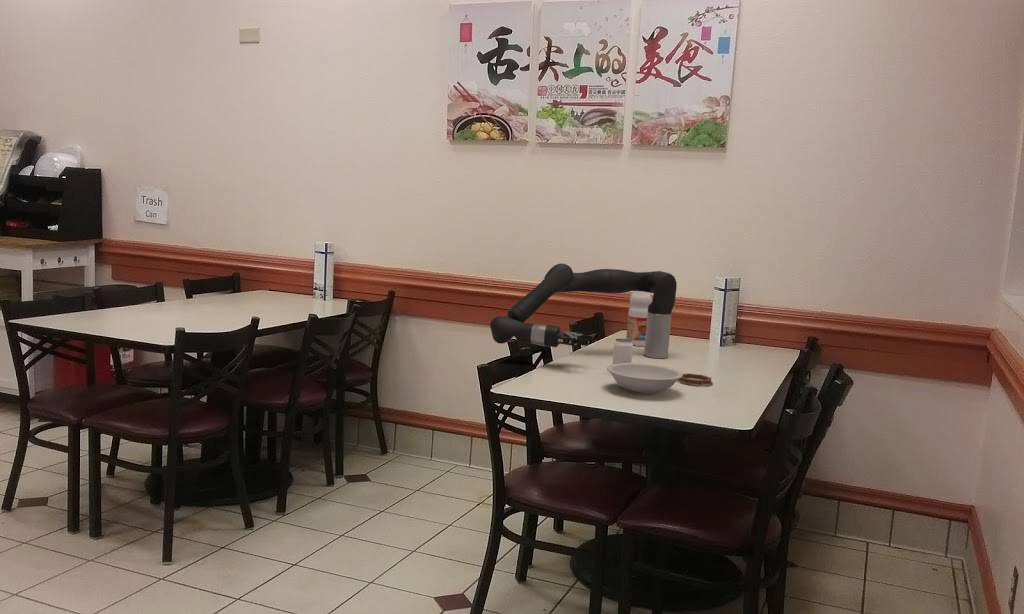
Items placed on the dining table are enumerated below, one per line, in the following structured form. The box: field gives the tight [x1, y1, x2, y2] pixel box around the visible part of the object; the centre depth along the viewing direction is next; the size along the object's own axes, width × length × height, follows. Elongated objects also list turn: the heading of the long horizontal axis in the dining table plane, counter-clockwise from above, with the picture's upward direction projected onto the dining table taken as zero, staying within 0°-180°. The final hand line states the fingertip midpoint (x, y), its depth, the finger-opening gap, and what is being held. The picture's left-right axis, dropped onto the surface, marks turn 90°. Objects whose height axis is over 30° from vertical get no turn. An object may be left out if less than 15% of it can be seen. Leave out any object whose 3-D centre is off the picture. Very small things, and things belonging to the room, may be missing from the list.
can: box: [612, 338, 634, 364], centre depth 290 cm, size 6×6×12 cm
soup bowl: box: [606, 362, 684, 394], centre depth 267 cm, size 24×24×7 cm
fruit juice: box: [625, 291, 653, 347], centre depth 351 cm, size 9×9×28 cm
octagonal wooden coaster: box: [676, 373, 714, 387], centre depth 285 cm, size 12×12×2 cm
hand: (590, 340), depth 293 cm, fingers open, 8 cm apart
